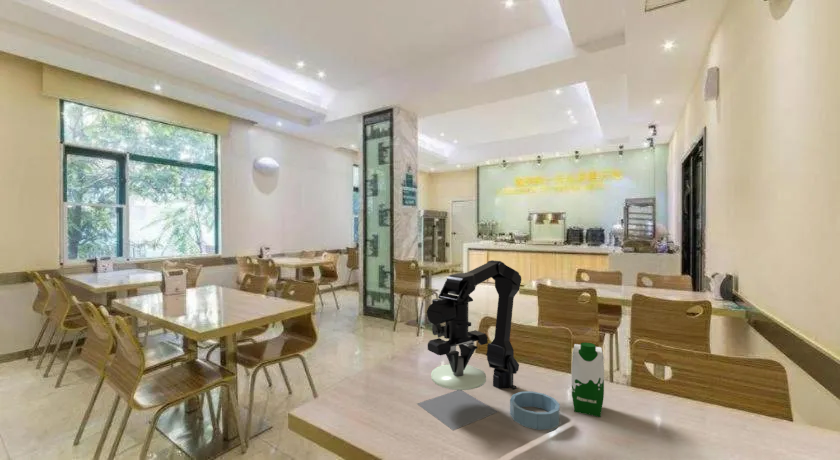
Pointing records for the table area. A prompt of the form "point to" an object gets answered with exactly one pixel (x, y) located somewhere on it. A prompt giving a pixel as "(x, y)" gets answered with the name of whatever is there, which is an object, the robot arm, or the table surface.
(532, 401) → the ring
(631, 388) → the table surface
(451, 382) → the lid
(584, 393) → the milk carton
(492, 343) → the robot arm
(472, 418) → the mat
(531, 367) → the table surface
